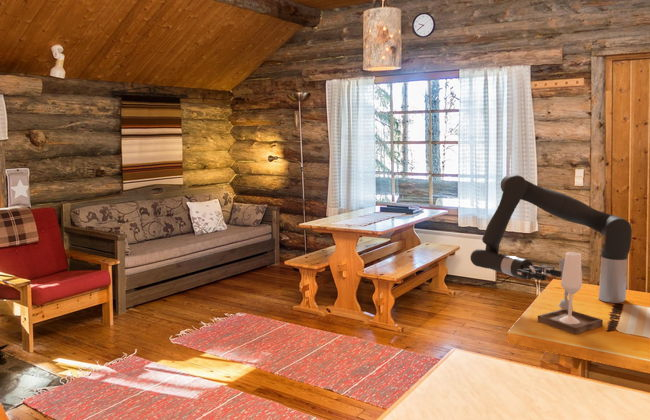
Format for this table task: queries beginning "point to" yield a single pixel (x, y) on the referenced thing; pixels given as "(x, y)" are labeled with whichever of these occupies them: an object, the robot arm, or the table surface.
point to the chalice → (565, 302)
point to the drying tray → (583, 326)
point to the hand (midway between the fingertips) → (553, 276)
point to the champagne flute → (571, 282)
